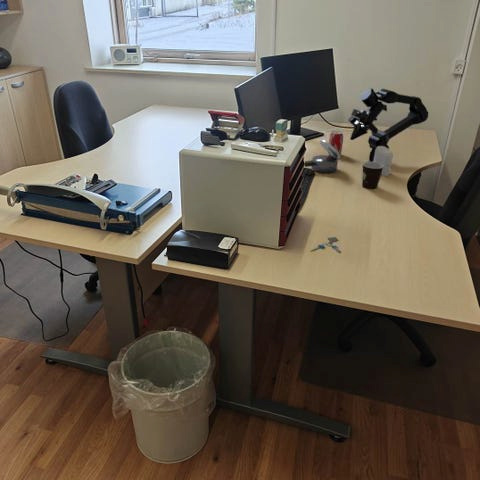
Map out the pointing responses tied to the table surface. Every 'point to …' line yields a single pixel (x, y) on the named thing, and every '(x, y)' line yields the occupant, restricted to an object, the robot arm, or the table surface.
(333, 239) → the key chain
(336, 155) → the cooker lid
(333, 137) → the soda can
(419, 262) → the table surface
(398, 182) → the table surface
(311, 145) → the table surface
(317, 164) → the pressure cooker pot
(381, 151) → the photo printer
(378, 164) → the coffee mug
